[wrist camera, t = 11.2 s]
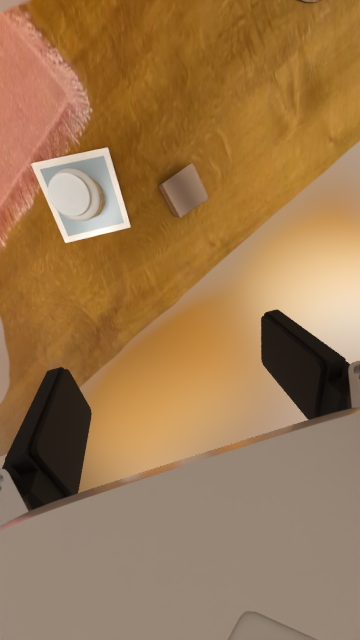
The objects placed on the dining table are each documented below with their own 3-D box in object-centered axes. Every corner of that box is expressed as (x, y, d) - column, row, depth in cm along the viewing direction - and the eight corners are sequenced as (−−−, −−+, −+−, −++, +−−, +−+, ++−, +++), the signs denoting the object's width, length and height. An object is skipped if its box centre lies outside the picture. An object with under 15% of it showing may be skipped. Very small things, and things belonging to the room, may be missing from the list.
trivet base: (109, 151, 32) (107, 147, 30) (130, 225, 37) (130, 227, 34) (38, 166, 31) (30, 163, 29) (69, 240, 36) (65, 243, 34)
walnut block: (184, 167, 35) (192, 162, 31) (199, 198, 38) (208, 198, 33) (157, 186, 36) (162, 184, 31) (174, 216, 38) (180, 217, 34)
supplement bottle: (111, 190, 32) (105, 185, 23) (96, 225, 33) (86, 233, 25) (71, 165, 30) (50, 150, 21) (58, 205, 31) (33, 205, 23)
